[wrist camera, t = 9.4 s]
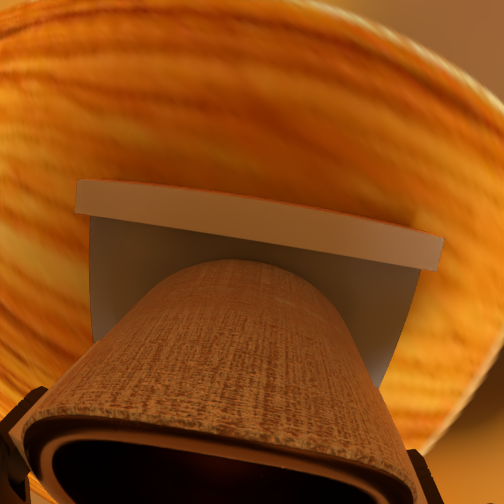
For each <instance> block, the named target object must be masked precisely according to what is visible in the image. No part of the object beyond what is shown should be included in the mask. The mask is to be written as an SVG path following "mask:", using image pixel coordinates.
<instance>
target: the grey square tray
mask: <svg viewBox="0 0 504 504" xmlns="http://www.w3.org/2000/svg"><path fill="white" fill-rule="evenodd" d="M75 213H78V214H85V215H91V218H90V240H89V285H90V308H91V322H92V334H93V344H95V343H96V342H97V341H98V340H100V341H101V340H102V339H103V338H104V336H105V335H106V334H107V333H108V332H109V331H110V330H111V329H112V328H113V327H114V326H115V325H116V324H117V323H118V322H119V321H120V320H121V319H122V318H123V317H124V316H125V315H126V314H127V313H128V312H129V311H130V310H131V309H132V308H133V307H134V306H135V305H136V304H137V303H138V302H139V301H140V300H141V299H142V298H143V297H144V296H145V295H146V294H147V293H148V292H149V291H150V290H151V289H152V288H153V287H155V286H156V285H157V284H158V283H159V282H161V281H162V280H164V279H165V278H167V277H169V276H170V275H172V274H174V273H176V272H178V271H180V270H183V269H185V268H187V267H190V266H193V265H196V264H199V263H203V262H208V261H214V260H222V259H244V260H252V261H258V262H263V263H267V264H271V265H275V266H277V267H280V268H283V269H285V270H287V271H290V272H292V273H294V274H296V275H297V276H299V277H301V278H303V279H304V280H306V281H307V282H309V283H310V284H312V285H313V286H314V287H315V288H317V289H318V290H319V291H320V292H321V293H322V294H323V295H324V296H325V297H326V298H327V299H328V300H329V301H330V302H331V303H332V304H333V305H334V307H335V308H336V309H337V311H338V312H339V314H340V315H341V317H342V318H343V320H344V322H345V324H346V326H347V328H348V330H349V332H350V334H351V336H352V338H353V341H354V343H355V345H356V347H357V349H358V351H359V353H360V355H361V358H362V360H363V362H364V364H365V367H366V369H367V371H368V373H369V376H370V378H371V380H372V382H373V385H374V387H378V389H379V386H380V384H381V382H382V380H383V377H384V375H385V373H386V370H387V368H388V366H389V363H390V361H391V358H392V356H393V353H394V351H395V348H396V345H397V343H398V340H399V337H400V335H401V332H402V329H403V326H404V323H405V320H406V318H407V315H408V311H409V308H410V305H411V302H412V299H413V296H414V292H415V289H416V285H417V282H418V278H419V275H420V271H421V269H423V270H429V271H434V272H437V268H438V265H439V261H440V257H441V252H442V248H443V244H444V239H445V238H443V237H440V236H437V235H434V234H431V233H428V232H425V231H422V230H419V229H416V228H413V227H409V226H405V225H401V224H396V223H392V222H388V221H383V220H379V219H374V218H369V217H365V216H360V215H355V214H350V213H345V212H340V211H335V210H330V209H325V208H320V207H314V206H309V205H303V204H298V203H292V202H286V201H280V200H274V199H268V198H262V197H256V196H249V195H243V194H236V193H229V192H222V191H215V190H208V189H200V188H192V187H184V186H176V185H167V184H158V183H149V182H139V181H129V180H118V179H77V188H76V200H75Z"/></svg>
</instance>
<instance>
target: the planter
mask: <svg viewBox="0 0 504 504" xmlns="http://www.w3.org/2000/svg"><path fill="white" fill-rule="evenodd" d="M21 444H22V449H23V453H24V456H25V458H26V461H27V463H28V465H29V467H30V469H31V470H32V472H33V474H34V475H35V477H36V478H37V480H38V481H39V482H40V484H41V485H42V486H43V487H44V489H45V490H46V491H47V492H48V493H49V494H50V495H51V497H52V498H53V499H54V500H55V501H56V502H57V503H58V504H417V499H418V493H417V488H416V484H415V482H414V479H413V476H412V474H411V471H410V469H409V466H408V464H407V461H406V459H405V456H404V454H403V452H402V449H401V447H400V444H399V442H398V440H397V437H396V435H395V433H394V430H393V428H392V426H391V423H390V421H389V419H388V417H387V414H386V412H385V410H384V407H383V405H382V403H381V400H380V398H379V396H378V394H377V391H376V389H375V387H374V385H373V382H372V380H371V378H370V376H369V373H368V371H367V369H366V367H365V364H364V362H363V360H362V358H361V355H360V353H359V351H358V349H357V347H356V345H355V343H354V341H353V338H352V336H351V334H350V332H349V330H348V328H347V326H346V324H345V322H344V320H343V318H342V317H341V315H340V314H339V312H338V311H337V309H336V308H335V307H334V305H333V304H332V303H331V302H330V301H329V300H328V299H327V298H326V297H325V296H324V295H323V294H322V293H321V292H320V291H319V290H318V289H317V288H315V287H314V286H313V285H312V284H310V283H309V282H307V281H306V280H304V279H303V278H301V277H299V276H297V275H296V274H294V273H292V272H290V271H287V270H285V269H283V268H280V267H277V266H275V265H271V264H267V263H263V262H258V261H252V260H244V259H222V260H214V261H208V262H203V263H199V264H196V265H193V266H190V267H187V268H185V269H183V270H180V271H178V272H176V273H174V274H172V275H170V276H169V277H167V278H165V279H164V280H162V281H161V282H159V283H158V284H157V285H156V286H155V287H153V288H152V289H151V290H150V291H149V292H148V293H147V294H146V295H145V296H144V297H143V298H142V299H141V300H140V301H139V302H138V303H137V304H136V305H135V306H134V307H133V308H132V309H131V310H130V311H129V312H128V313H127V314H126V315H125V316H124V317H123V318H122V319H121V320H120V321H119V322H118V323H117V324H116V325H115V326H114V327H113V328H112V329H111V330H110V331H109V332H108V333H107V334H106V335H105V336H104V338H103V339H102V340H101V341H100V342H99V343H98V344H97V345H96V346H95V347H94V348H93V349H92V350H91V351H90V352H89V353H88V354H87V355H86V356H85V357H84V358H83V359H82V361H81V362H80V363H79V364H78V365H77V366H76V367H75V368H74V369H73V370H72V371H71V372H70V373H69V374H68V375H67V376H66V377H65V378H64V379H63V381H62V382H61V383H60V384H59V385H58V386H57V387H56V388H55V389H54V390H53V391H52V392H51V393H50V394H49V395H48V397H47V398H46V399H45V400H44V401H43V402H42V403H41V404H40V405H39V406H38V407H37V409H36V410H35V411H34V412H33V413H32V414H31V415H30V417H29V418H28V420H27V421H26V422H25V424H24V426H23V428H22V432H21Z"/></svg>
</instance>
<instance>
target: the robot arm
mask: <svg viewBox="0 0 504 504" xmlns="http://www.w3.org/2000/svg"><path fill="white" fill-rule="evenodd" d="M99 342H100V340H98V341H97V342H96V343H95V344H94V345H93V346H92V347H91V348H90V349H89V350H88V351H86V352H85V353H84V354H83V355H82V356H81V357H80V358H79V359H78V360H77V361H76V362H75V363H74V364H73V365H72V366H71V367H70V368H69V369H68V370H67V371H66V372H65V373H64V374H63V375H62V376H61V377H60V378H59V379H58V381H57V382H56V383H55V384H54V385H53V386H52V387H51V388H50V389H47V388H45V387H43V386H40V387H38V388H36V389H34V390H32V391H30V392H29V393H28V394H27V395H26V396H25V397H24V400H21V401H20V402H19V403H18V406H17V405H16V406H15V407H14V408H13V409H12V410H11V411H10V412H9V413H8V414H7V415H6V416H5V418H4V419H3V420H2V421H1V422H0V504H31V499H30V486H29V479H28V476H27V475H28V474H29V472H30V471H31V472H32V470H31V469H30V467H29V465H28V463H27V461H26V458H25V456H24V453H23V449H22V444H21V432H22V428H23V426H24V424H25V422H26V421H27V420H28V418H29V417H30V415H31V414H32V413H33V412H34V411H35V410H36V409H37V407H38V406H39V405H40V404H41V403H42V402H43V401H44V400H45V399H46V398H47V397H48V395H49V394H50V393H51V392H52V391H53V390H54V389H55V388H56V387H57V386H58V385H59V384H60V383H61V382H62V381H63V379H64V378H65V377H66V376H67V375H68V374H69V373H70V372H71V371H72V370H73V369H74V368H75V367H76V366H77V365H78V364H79V363H80V362H81V361H82V359H83V358H84V357H85V356H86V355H87V354H88V353H89V352H90V351H91V350H92V349H93V348H94V347H95V346H96V345H97V344H98V343H99ZM375 389H376V391H377V394H378V396H379V398H380V400H381V403H382V405H383V407H384V410H385V412H386V414H387V417H388V419H389V421H390V423H391V426H392V428H393V430H394V433H395V435H396V437H397V440H398V442H399V444H400V447H401V449H402V452H403V454H404V456H405V459H406V461H407V464H408V466H409V469H410V471H411V474H412V476H413V479H414V482H415V484H416V488H417V493H418V499H417V504H444V502H443V500H442V498H441V496H440V493H439V491H438V489H437V487H436V484H435V482H434V480H433V477H431V473H430V471H429V469H428V468H427V467H428V466H427V464H426V462H425V460H424V457H423V456H422V455H421V454H420V453H419V452H418V451H417V450H416V449H411V450H406V449H405V447H404V444H403V442H402V440H401V437H400V435H399V433H398V431H397V428H396V426H395V424H394V422H393V420H392V417H391V415H390V413H389V411H388V409H387V407H386V404H385V402H384V400H383V398H382V396H381V394H380V392H379V389H378V387H375ZM32 474H33V472H32ZM33 475H34V474H33ZM34 477H35V475H34ZM35 478H36V477H35ZM36 479H37V478H36ZM489 504H491V503H489Z"/></svg>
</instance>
